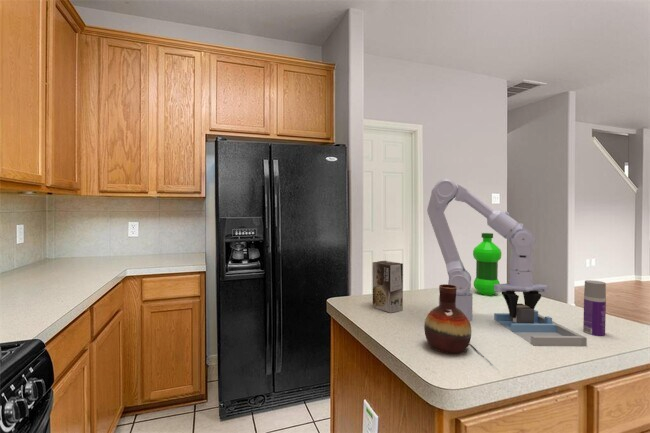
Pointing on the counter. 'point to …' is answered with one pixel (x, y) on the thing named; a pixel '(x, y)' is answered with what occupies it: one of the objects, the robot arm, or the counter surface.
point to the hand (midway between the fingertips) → (520, 316)
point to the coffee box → (387, 286)
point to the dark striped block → (523, 314)
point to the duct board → (542, 331)
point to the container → (594, 308)
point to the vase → (447, 324)
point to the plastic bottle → (486, 265)
